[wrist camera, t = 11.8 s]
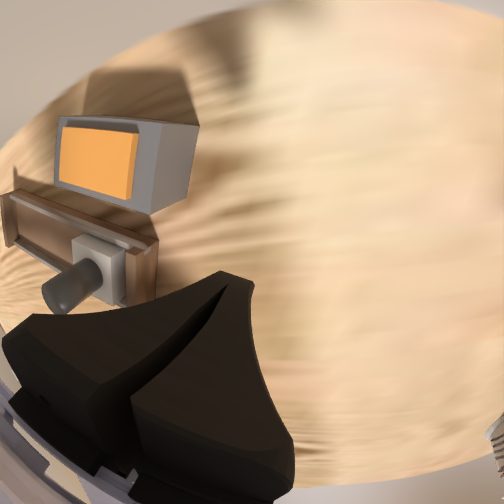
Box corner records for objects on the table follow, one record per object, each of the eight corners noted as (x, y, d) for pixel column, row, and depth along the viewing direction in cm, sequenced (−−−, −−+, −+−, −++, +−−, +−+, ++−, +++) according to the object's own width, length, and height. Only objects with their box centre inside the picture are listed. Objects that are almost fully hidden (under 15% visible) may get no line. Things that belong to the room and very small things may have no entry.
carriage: (125, 295, 24) (78, 338, 18) (88, 277, 24) (41, 311, 18) (125, 248, 22) (67, 286, 15) (85, 232, 22) (30, 262, 16)
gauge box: (186, 197, 20) (149, 214, 16) (92, 173, 22) (52, 184, 17) (199, 126, 18) (162, 123, 13) (99, 115, 19) (57, 116, 15)
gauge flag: (131, 197, 16) (125, 199, 15) (64, 178, 17) (58, 180, 16) (139, 133, 14) (133, 133, 13) (68, 126, 15) (62, 127, 14)
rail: (154, 305, 25) (136, 325, 22) (22, 236, 28) (5, 245, 25) (158, 240, 22) (135, 256, 19) (19, 188, 25) (-1, 195, 22)
